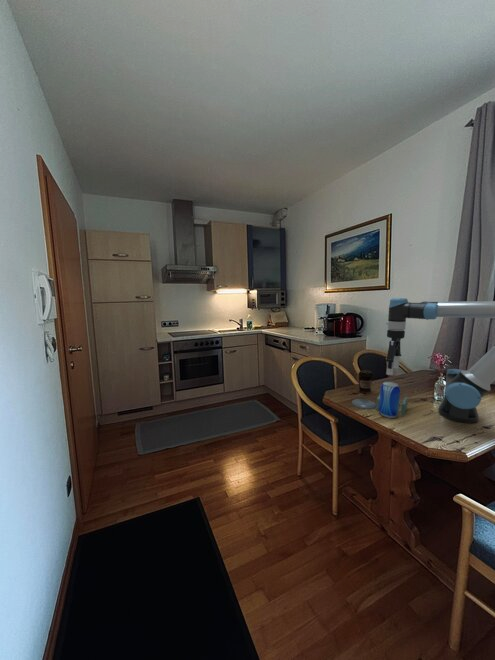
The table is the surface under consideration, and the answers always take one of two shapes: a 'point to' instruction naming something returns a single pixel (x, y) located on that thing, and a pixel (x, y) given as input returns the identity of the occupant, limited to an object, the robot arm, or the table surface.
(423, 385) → the table surface
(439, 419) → the table surface
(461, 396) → the robot arm
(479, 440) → the table surface
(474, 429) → the table surface
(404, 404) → the rack
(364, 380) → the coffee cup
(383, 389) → the beer can
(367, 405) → the flat grey disc
